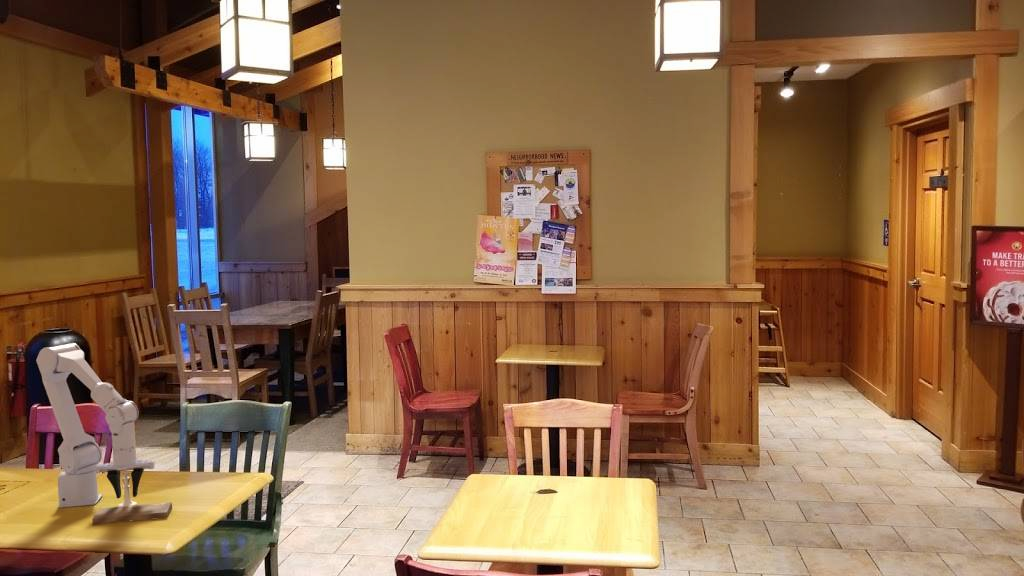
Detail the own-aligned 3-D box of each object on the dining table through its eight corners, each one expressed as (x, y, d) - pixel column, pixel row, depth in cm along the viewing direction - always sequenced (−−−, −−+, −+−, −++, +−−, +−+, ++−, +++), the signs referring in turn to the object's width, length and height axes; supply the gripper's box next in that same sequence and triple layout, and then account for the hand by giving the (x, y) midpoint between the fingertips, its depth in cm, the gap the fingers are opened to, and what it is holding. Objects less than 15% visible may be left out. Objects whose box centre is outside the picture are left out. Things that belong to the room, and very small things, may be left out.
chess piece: (132, 510, 232) (130, 473, 232) (114, 510, 233) (112, 473, 232) (140, 503, 237) (138, 468, 236) (123, 504, 237) (120, 468, 237)
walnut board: (92, 524, 222) (92, 518, 222) (100, 513, 230) (99, 508, 230) (166, 517, 226) (166, 511, 226) (172, 507, 234) (171, 501, 233)
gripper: (91, 453, 228) (94, 503, 229) (149, 449, 231) (152, 498, 232) (98, 446, 235) (101, 495, 236) (154, 442, 238) (157, 490, 239)
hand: (127, 496), depth 235 cm, fingers open, 3 cm apart
